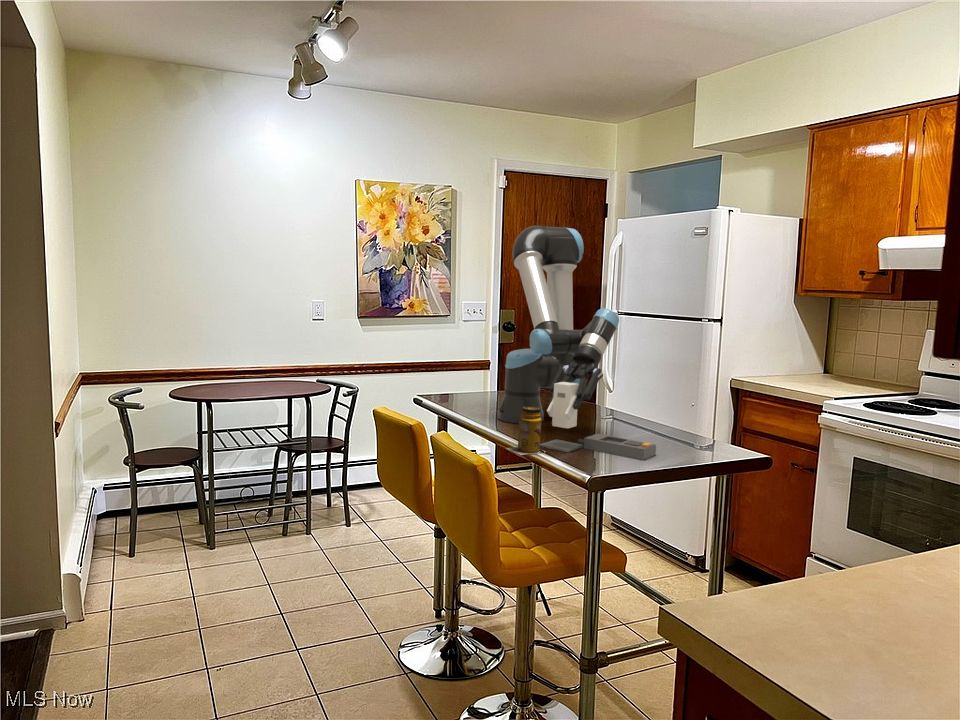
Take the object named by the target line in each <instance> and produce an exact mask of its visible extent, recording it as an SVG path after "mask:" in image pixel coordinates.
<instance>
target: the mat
mask: <svg viewBox="0 0 960 720" xmlns="http://www.w3.org/2000/svg"><path fill="white" fill-rule="evenodd" d="M540 446H542V447H541V448H544V447H546V449H550V450H554V451H559V452H563V453H570V452H572V451H574V450H575V451H576V450H578V449H580V448H584V444H580V443H578V442H572V441H566V440H561V439H557V438H556V439H553V440H550V441H546V442H542V443H540Z"/></svg>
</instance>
